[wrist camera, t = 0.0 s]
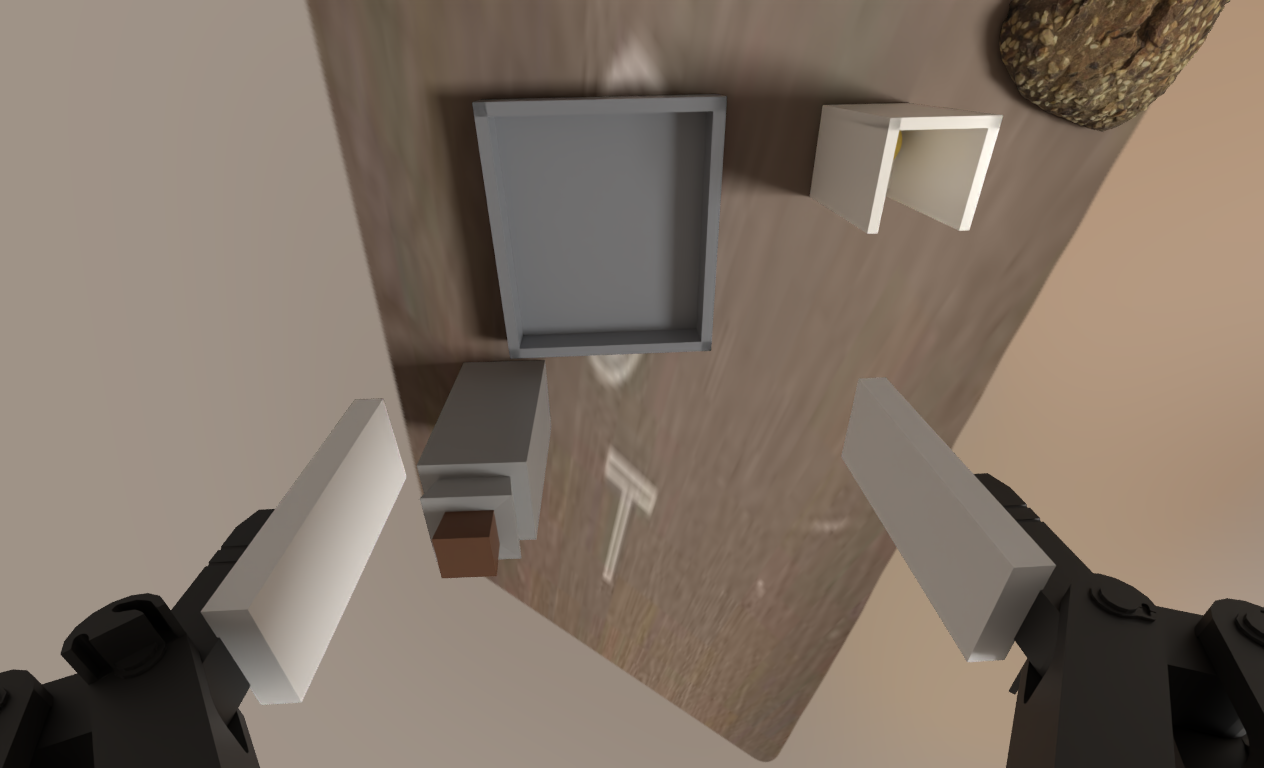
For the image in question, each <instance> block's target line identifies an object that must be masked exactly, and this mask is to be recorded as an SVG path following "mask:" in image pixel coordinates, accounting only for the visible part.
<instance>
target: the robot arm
mask: <svg viewBox="0 0 1264 768" xmlns="http://www.w3.org/2000/svg"><path fill="white" fill-rule="evenodd" d="M841 457H842V459H843V460H844V462H845V463H846V465H847V467H848V468H849V470H850V472H851V473H852V475H853V476H854V478H855V480H856V481H857V483H858V485H859V486H860V488H861V490H862V491H863V493H864V494H865V496H866V498H867V499H868V501H869V503H870V504H871V506H872V508H873V509H874V511H875V512H876V514H877V516H878V517H879V519H880V521H881V522H882V524H883V525H884V527H885V529H886V530H887V532H888V534H889V535H890V537H891V539H892V540H893V542H894V543H895V545H896V547H897V548H898V550H899V551H900V553H901V555H902V556H903V558H904V560H905V561H906V563H907V565H908V566H909V568H910V570H911V571H912V573H913V574H914V576H915V578H916V579H917V581H918V583H919V584H920V586H921V587H922V589H923V591H924V592H925V594H926V596H927V597H928V599H929V600H930V602H931V604H932V605H933V607H934V609H935V610H936V612H937V614H938V615H939V617H940V618H941V620H942V622H943V623H944V625H945V627H946V628H947V630H948V632H949V633H950V635H951V636H952V638H953V640H954V641H955V643H956V645H957V646H958V648H959V649H960V651H961V652H962V654H963V656H964V658H965V659H966V661H967V662H977V661H994V660H1004V659H1005V658H1006V656H1007V654H1008V652H1009V651H1010V649H1011V647H1012V645H1013V643H1014V641H1016V643H1017V644H1018V645H1019V647H1020V648H1021V650H1022V651H1023V652H1024V654H1025V655H1026V656H1027V660H1026V662H1025V663H1024V665H1023V667H1022V669H1021V670H1020V672H1019V674H1018V675H1017V677H1016V679H1015V681H1014V682H1013V684H1012V686H1011V688H1010V690H1009V692H1011V693H1013V694H1016V692H1017V691H1018V695H1017V702H1016V708H1015V714H1014V721H1013V727H1012V733H1011V740H1010V746H1009V752H1008V759H1007V765H1006V768H1264V607H1260V606H1258V605H1254V604H1252V603H1249V602H1246V601H1241V600H1234V599H1228V598H1227V599H1222V600H1217V601H1215V602H1214V603H1213V604H1212V606H1211V607H1210V608H1209V609H1208V611H1207V612H1206V613H1205V614H1204V616H1203V615H1198V614H1193V613H1188V612H1183V611H1178V610H1173V609H1168V608H1163V607H1158V606H1155V605H1154V604H1153V602H1152V601H1151V600H1150V599H1149V598H1148V597H1147V596H1145V595H1144V594H1142V593H1141V592H1140V591H1138V590H1137V589H1136V588H1134V587H1133V586H1131V585H1128V584H1126V583H1124V582H1122V581H1120V580H1118V579H1116V578H1113V577H1109V576H1106V575H1102V574H1094V573H1092V572H1091V571H1090V569H1088V568H1087V566H1086V565H1085V564H1084V563H1083V562H1082V561H1081V560H1080V559H1079V558H1078V557H1077V556H1076V555H1075V554H1074V553H1073V552H1072V551H1071V550H1070V549H1069V548H1068V547H1067V546H1066V545H1065V544H1064V543H1063V542H1062V541H1061V540H1060V539H1059V537H1057V535H1056V534H1054V532H1053V531H1052V530H1051V529H1050V528H1049V527H1048V526H1047V525H1046V524H1045V523H1044V522H1041V521H1040V518H1039V517H1038V516H1037V515H1036V514H1035V513H1034V512H1033V510H1032V509H1031V508H1027V505H1026V503H1025V502H1024V501H1023V500H1022V499H1021V498H1020V497H1019V496H1018V495H1017V494H1016V493H1015V492H1014V491H1013V490H1012V489H1011V488H1010V487H1009V486H1007V485H1005V484H1004V483H1002V482H1001V481H999V480H997V479H996V478H994V477H993V476H991V475H990V474H988V473H986V474H985V473H984V474H973V473H972V472H971V471H970V470H969V469H968V468H967V467H966V465H965V464H964V463H963V462H962V461H961V460H960V459H959V458H958V457H957V456H956V454H955V453H954V452H953V451H952V450H951V449H950V448H949V447H948V446H947V444H946V443H945V442H944V441H943V440H942V439H941V438H940V437H939V436H938V435H937V433H936V432H935V431H934V430H933V429H932V428H931V427H930V426H929V425H928V424H927V422H926V421H925V420H924V419H923V418H922V417H921V416H920V415H919V414H918V413H917V411H916V410H915V409H914V408H913V407H912V406H911V405H910V404H909V403H908V402H907V400H906V399H905V398H904V397H903V396H902V395H901V394H900V393H899V392H898V390H897V389H896V388H895V387H894V386H893V385H892V384H891V383H890V382H889V381H888V379H887V378H886V377H885V378H861V379H859V380H858V385H857V389H856V393H855V398H854V402H853V407H852V411H851V416H850V420H849V425H848V429H847V434H846V438H845V442H844V447H843V451H842V456H841ZM405 479H406V473H405V470H404V466H403V463H402V460H401V456H400V453H399V450H398V446H397V443H396V439H395V436H394V433H393V430H392V426H391V422H390V419H389V416H388V412H387V409H386V406H385V402H384V399H382V398H381V399H357V400H354V401H353V403H352V404H351V406H350V407H349V408H348V410H347V411H346V412H345V414H344V415H343V417H342V418H341V419H340V421H339V422H338V423H337V425H336V426H335V428H334V429H333V430H332V432H331V433H330V434H329V436H328V437H327V438H326V440H325V441H324V443H323V444H322V445H321V447H320V448H319V450H318V451H317V452H316V454H315V455H314V457H313V458H312V459H311V460H310V462H309V463H308V465H307V466H306V467H305V469H304V470H303V471H302V473H301V474H300V476H299V477H298V478H297V480H296V481H295V482H294V484H293V485H292V487H291V488H290V490H289V491H288V492H287V494H286V495H285V496H284V498H283V499H282V500H281V502H280V503H279V505H278V506H277V507H276V509H266V510H258V511H257V512H256V513H254V514H253V515H251V516H250V517H249V518H247V520H245V521H244V522H242V523H241V524H240V525H238V526H237V527H236V528H235V529H234V531H233V532H232V533H231V535H230V536H229V537H228V538H227V540H226V541H225V542H224V543H223V545H222V546H221V550H218V551H217V552H216V554H215V555H214V556H213V557H212V559H211V560H210V561H209V565H208V566H206V567H205V568H204V569H203V570H202V572H201V573H200V574H199V575H198V577H197V578H196V579H195V581H194V582H193V583H192V584H191V586H190V587H189V588H188V590H187V591H186V592H185V593H184V595H183V596H182V597H181V598H180V600H179V601H178V602H177V604H176V605H175V606H174V607H173V609H172V610H170V609H169V607H168V606H167V605H166V603H165V602H164V601H163V599H162V598H161V597H160V596H158V595H153V594H149V593H146V594H139V595H131V596H129V597H126V598H123V599H121V600H117V601H115V602H112V603H110V604H109V605H107V606H105V607H103V608H101V609H100V610H98V611H96V612H94V613H93V614H91V615H90V616H89V617H88V618H86V619H85V620H84V621H83V622H81V623H80V624H79V625H78V626H76V627H75V629H74V630H73V631H72V632H71V634H70V635H69V636H68V638H67V639H66V640H65V641H64V644H63V647H62V651H61V655H62V657H63V658H64V659H65V660H66V661H67V662H68V663H69V664H70V665H71V666H72V668H74V670H75V671H76V672H77V673H78V674H74V675H71V676H68V677H65V678H62V679H59V680H55V681H52V682H48V683H45V684H41V683H40V682H39V681H38V680H37V679H36V678H35V677H34V676H33V675H32V674H30V673H29V672H28V671H26V670H10V671H6V672H2V673H0V768H260V766H259V763H258V760H257V757H256V753H255V750H254V747H253V744H252V741H251V738H250V734H249V731H248V728H247V725H246V721H245V718H244V716H243V714H242V713H241V711H240V710H239V709H238V707H239V705H240V703H241V702H242V700H243V698H244V696H245V695H246V693H247V691H248V689H249V687H250V689H251V690H252V692H253V693H254V695H255V696H256V698H257V700H258V701H259V703H260V704H261V705H266V704H282V703H299V702H302V700H303V698H304V696H305V694H306V692H307V689H308V687H309V685H310V683H311V681H312V679H313V677H314V674H315V672H316V670H317V668H318V666H319V664H320V662H321V660H322V657H323V655H324V653H325V651H326V649H327V647H328V644H329V642H330V639H331V638H332V636H333V634H334V631H335V629H336V627H337V625H338V623H339V621H340V619H341V617H342V614H343V612H344V610H345V608H346V606H347V604H348V601H349V599H350V597H351V595H352V593H353V591H354V589H355V587H356V584H357V582H358V580H359V578H360V576H361V574H362V572H363V569H364V567H365V565H366V563H367V561H368V559H369V556H370V554H371V552H372V550H373V548H374V545H375V544H376V541H377V539H378V537H379V535H380V533H381V531H382V529H383V526H384V524H385V522H386V520H387V518H388V516H389V514H390V511H391V509H392V507H393V505H394V503H395V501H396V498H397V496H398V494H399V492H400V490H401V488H402V486H403V484H404V481H405Z"/></svg>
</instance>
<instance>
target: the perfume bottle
mask: <svg viewBox="0 0 1264 768" xmlns="http://www.w3.org/2000/svg"><path fill="white" fill-rule="evenodd" d="M550 433H551V418H550V407H549V397H548V386H547V376H546V365H545V360H542V361H503V362H464V363H463V365H462V367H461V369H460V372H459V374H458V376H457V378H456V380H455V383H454V385H453V387H452V389H451V391H450V394H449V396H448V398H447V400H446V403H445V405H444V407H443V409H442V411H441V414H440V416H439V418H438V420H437V422H436V425H435V427H434V429H433V431H432V433H431V436H430V438H429V440H428V442H427V444H426V447H425V449H424V451H423V453H422V455H421V458H420V460H419V462H418V464H417V468H418V472H419V476H420V480H421V484H422V487H423V491H424V495H423V496H422V497H421V498H420V501H421V505H422V509H423V512H424V516H425V520H426V524H427V528H428V531H429V535H430V539H431V542H432V546H433V550H434V554H435V558H436V561H437V562H438V565H439V569H440V573H441V577H442V578H458V577H484V576H497V567H498V559H519V558H521V551H520V541H519V540H530V539H536V538H537V530H538V523H539V515H540V508H541V500H542V493H543V485H544V478H545V470H546V463H547V455H548V448H549V440H550Z"/></svg>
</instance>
